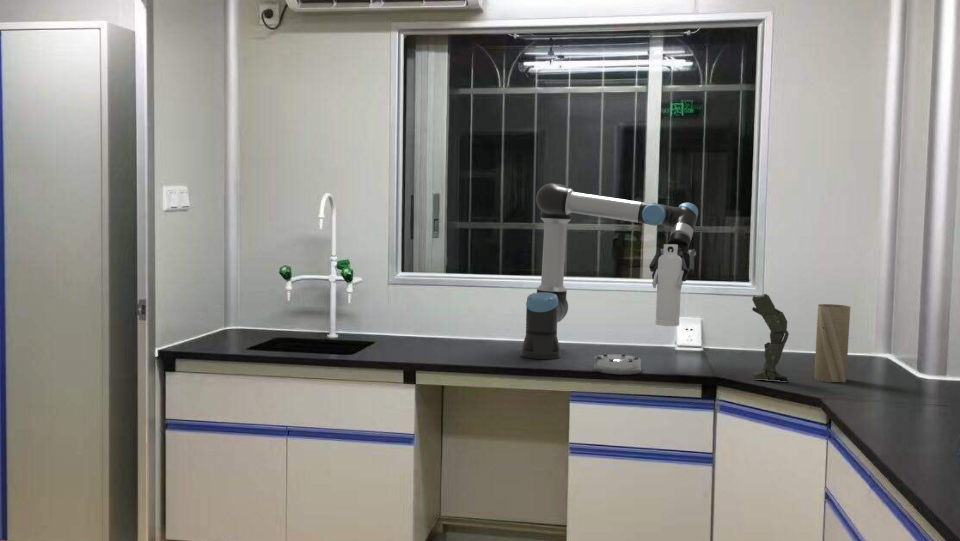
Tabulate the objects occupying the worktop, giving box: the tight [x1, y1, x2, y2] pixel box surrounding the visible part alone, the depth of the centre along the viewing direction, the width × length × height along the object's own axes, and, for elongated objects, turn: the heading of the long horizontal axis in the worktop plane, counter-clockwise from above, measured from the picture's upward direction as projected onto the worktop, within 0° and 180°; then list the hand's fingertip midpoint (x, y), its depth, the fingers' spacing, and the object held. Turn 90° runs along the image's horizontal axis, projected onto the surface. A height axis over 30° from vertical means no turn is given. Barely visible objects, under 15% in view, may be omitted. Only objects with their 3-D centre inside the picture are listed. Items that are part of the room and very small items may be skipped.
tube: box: [813, 303, 851, 383], centre depth 281 cm, size 10×10×25 cm
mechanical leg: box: [751, 293, 790, 381], centre depth 278 cm, size 14×7×30 cm, turn 71°
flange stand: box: [593, 352, 642, 376], centre depth 291 cm, size 16×16×5 cm
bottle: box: [655, 243, 683, 327], centre depth 291 cm, size 8×8×28 cm
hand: (666, 286), depth 289 cm, fingers closed on bottle, 8 cm apart
